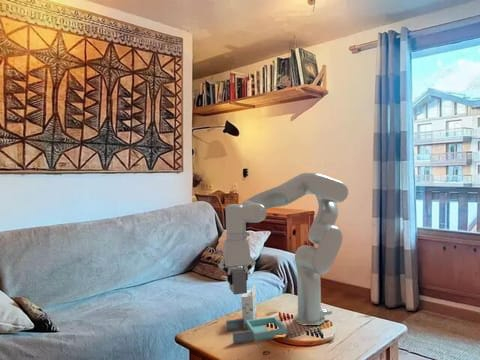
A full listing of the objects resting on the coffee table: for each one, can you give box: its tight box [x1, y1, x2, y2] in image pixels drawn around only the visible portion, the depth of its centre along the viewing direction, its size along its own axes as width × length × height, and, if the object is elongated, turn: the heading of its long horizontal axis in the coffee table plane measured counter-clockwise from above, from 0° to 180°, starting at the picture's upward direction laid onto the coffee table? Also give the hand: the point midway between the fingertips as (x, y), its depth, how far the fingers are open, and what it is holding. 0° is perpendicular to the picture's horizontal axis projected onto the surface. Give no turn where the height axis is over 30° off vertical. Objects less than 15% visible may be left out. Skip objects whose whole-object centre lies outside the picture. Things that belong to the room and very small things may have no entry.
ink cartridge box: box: [241, 283, 257, 325], centre depth 166 cm, size 9×5×15 cm, turn 168°
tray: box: [244, 316, 288, 343], centre depth 154 cm, size 13×13×3 cm
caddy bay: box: [225, 318, 253, 345], centre depth 152 cm, size 7×12×4 cm, turn 14°
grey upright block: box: [228, 266, 248, 296], centre depth 151 cm, size 5×8×8 cm, turn 14°
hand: (237, 282), depth 151 cm, fingers closed on grey upright block, 5 cm apart
